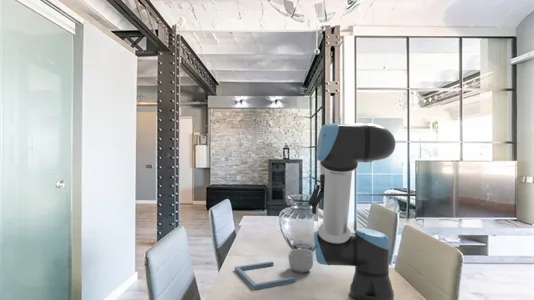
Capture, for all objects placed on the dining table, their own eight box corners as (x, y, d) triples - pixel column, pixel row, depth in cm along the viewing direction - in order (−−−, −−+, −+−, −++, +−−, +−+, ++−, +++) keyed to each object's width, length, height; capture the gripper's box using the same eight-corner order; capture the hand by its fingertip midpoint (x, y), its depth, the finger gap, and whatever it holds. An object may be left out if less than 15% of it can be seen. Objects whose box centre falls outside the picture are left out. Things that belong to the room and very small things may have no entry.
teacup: (312, 275, 133) (312, 256, 133) (286, 273, 135) (286, 254, 135) (314, 264, 147) (314, 247, 147) (290, 262, 149) (290, 245, 149)
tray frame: (295, 282, 126) (295, 278, 126) (253, 289, 119) (253, 285, 119) (272, 264, 146) (272, 261, 146) (234, 270, 138) (234, 266, 138)
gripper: (344, 173, 157) (343, 216, 156) (301, 173, 146) (300, 220, 145) (354, 174, 150) (354, 219, 150) (310, 174, 139) (309, 223, 139)
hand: (327, 219), depth 148 cm, fingers open, 13 cm apart
